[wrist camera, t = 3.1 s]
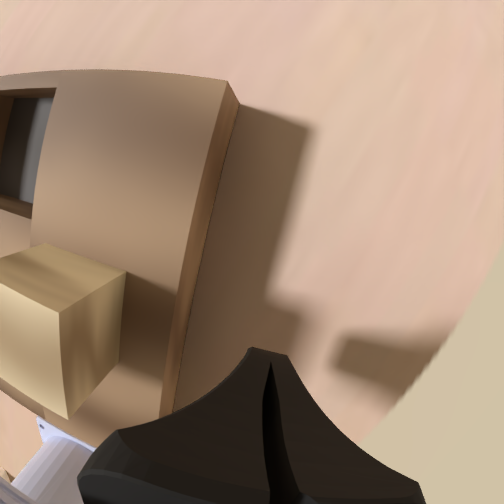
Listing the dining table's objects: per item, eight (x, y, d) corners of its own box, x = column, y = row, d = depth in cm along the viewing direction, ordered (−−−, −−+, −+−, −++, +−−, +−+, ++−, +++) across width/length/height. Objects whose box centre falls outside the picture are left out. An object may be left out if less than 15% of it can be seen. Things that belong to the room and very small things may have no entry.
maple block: (118, 361, 11) (68, 420, 7) (45, 327, 12) (-12, 368, 8) (126, 271, 10) (59, 312, 7) (45, 243, 11) (-27, 267, 7)
